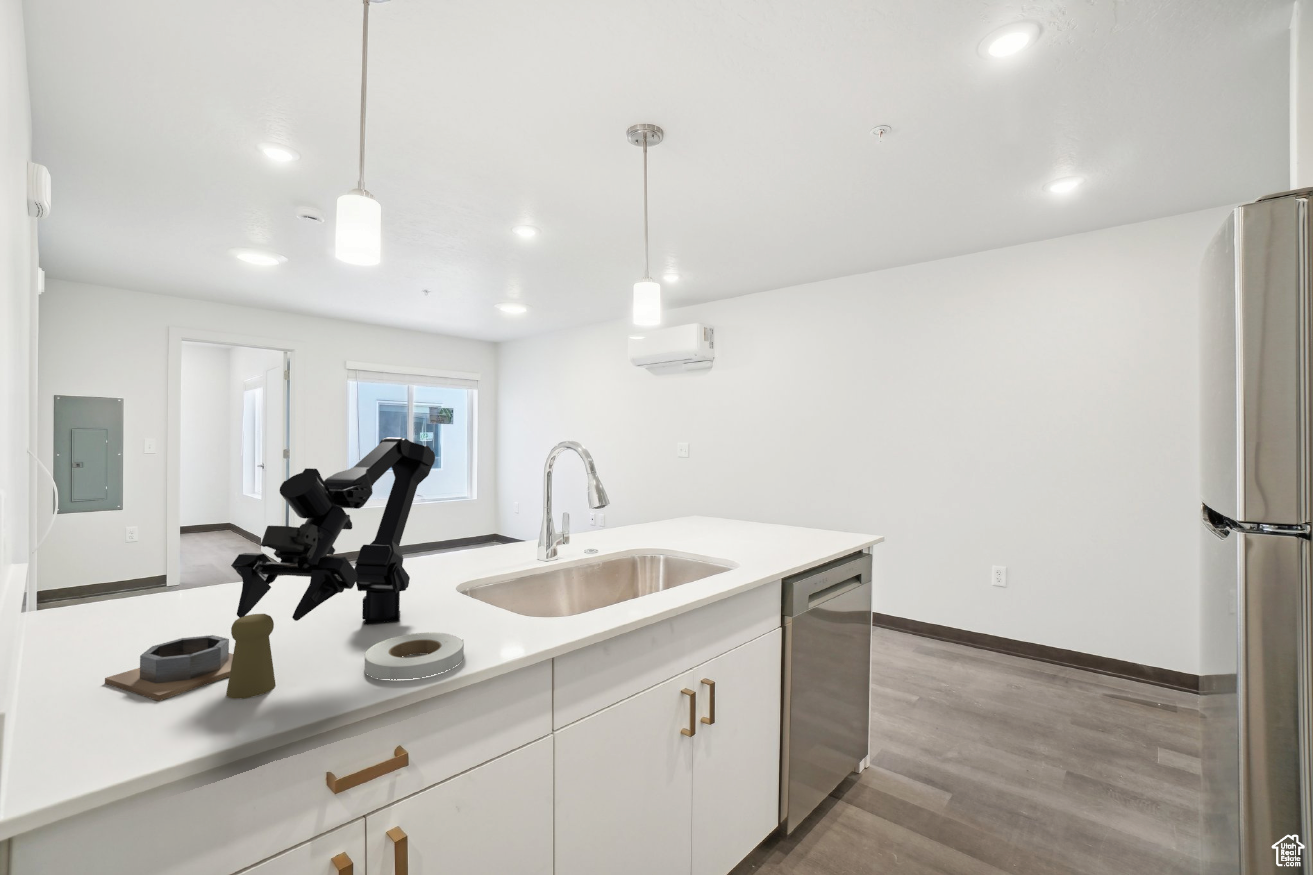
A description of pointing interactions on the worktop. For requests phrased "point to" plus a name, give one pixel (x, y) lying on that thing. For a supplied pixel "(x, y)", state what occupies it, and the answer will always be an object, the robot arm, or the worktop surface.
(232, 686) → the cork
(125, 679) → the walnut plate
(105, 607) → the worktop surface
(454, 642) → the roll of tape
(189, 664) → the metal collar
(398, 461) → the robot arm
